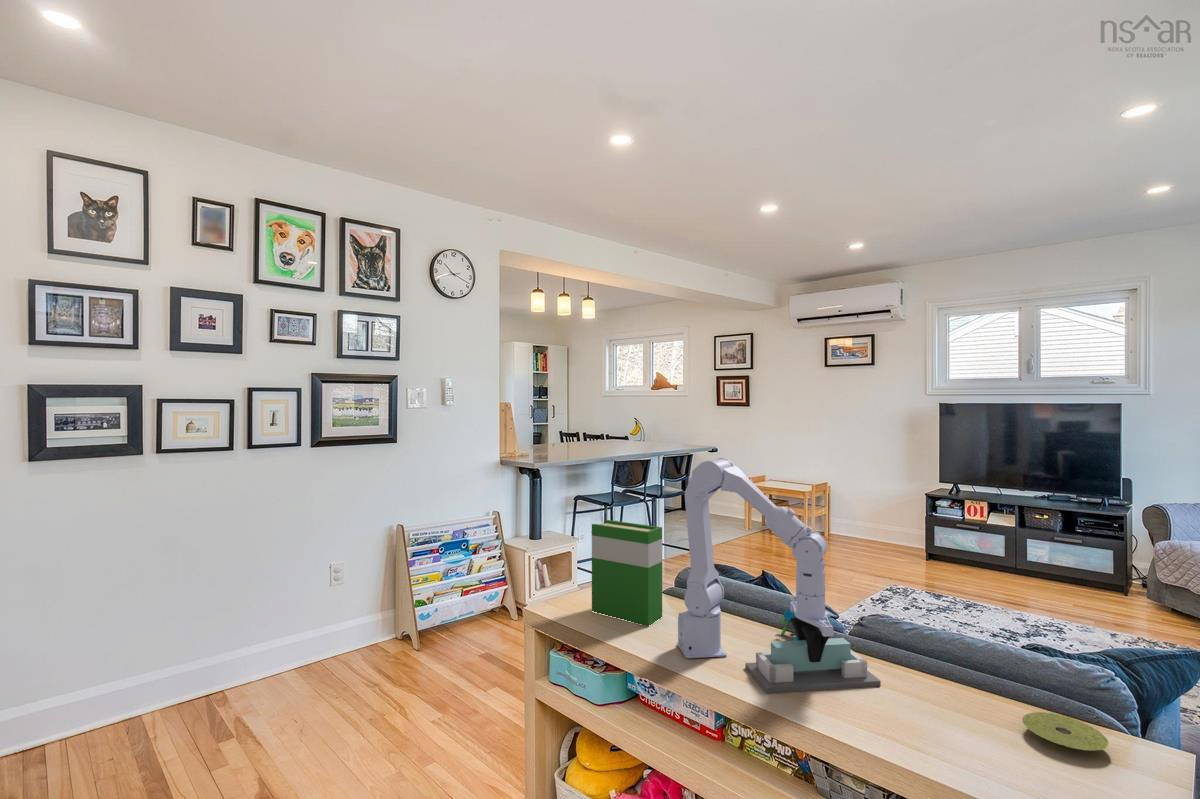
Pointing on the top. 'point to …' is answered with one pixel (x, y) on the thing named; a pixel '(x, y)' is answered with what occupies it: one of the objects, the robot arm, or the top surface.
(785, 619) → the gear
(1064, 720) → the mat
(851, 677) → the cradle
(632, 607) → the hardback book
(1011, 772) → the top surface
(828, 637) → the robot arm
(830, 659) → the teal rectangular block
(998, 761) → the top surface
